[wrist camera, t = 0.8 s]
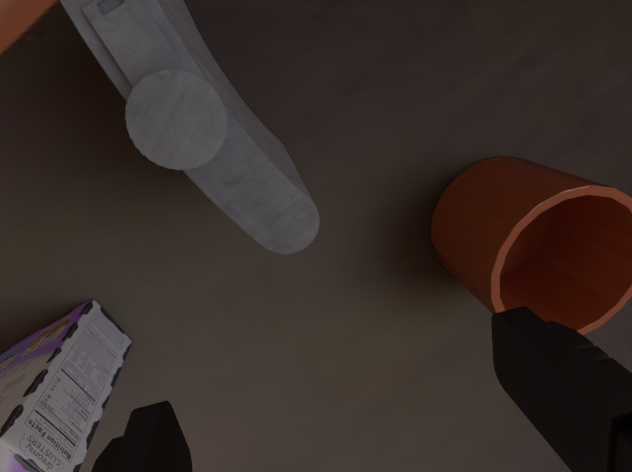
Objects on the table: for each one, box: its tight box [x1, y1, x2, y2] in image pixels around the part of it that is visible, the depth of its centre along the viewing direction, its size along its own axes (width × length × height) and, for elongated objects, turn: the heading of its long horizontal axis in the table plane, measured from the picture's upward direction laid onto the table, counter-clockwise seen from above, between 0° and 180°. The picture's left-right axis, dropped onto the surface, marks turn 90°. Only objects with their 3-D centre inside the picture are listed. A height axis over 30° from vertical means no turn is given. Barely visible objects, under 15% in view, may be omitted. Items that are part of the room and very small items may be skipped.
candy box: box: [0, 300, 132, 472], centre depth 32 cm, size 14×6×16 cm, turn 119°
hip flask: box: [60, 0, 320, 254], centre depth 25 cm, size 16×4×20 cm, turn 33°
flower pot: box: [431, 157, 632, 335], centre depth 37 cm, size 13×13×11 cm
